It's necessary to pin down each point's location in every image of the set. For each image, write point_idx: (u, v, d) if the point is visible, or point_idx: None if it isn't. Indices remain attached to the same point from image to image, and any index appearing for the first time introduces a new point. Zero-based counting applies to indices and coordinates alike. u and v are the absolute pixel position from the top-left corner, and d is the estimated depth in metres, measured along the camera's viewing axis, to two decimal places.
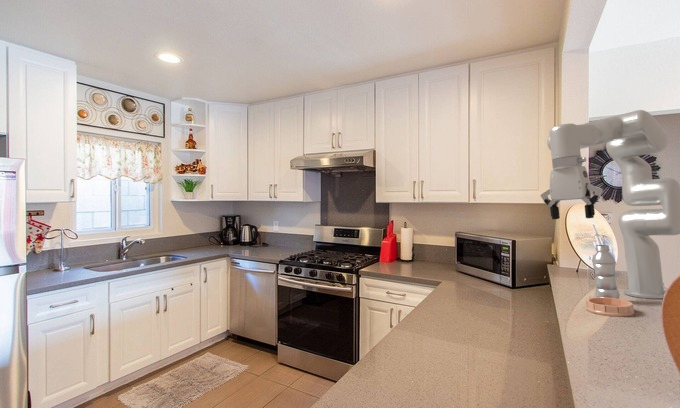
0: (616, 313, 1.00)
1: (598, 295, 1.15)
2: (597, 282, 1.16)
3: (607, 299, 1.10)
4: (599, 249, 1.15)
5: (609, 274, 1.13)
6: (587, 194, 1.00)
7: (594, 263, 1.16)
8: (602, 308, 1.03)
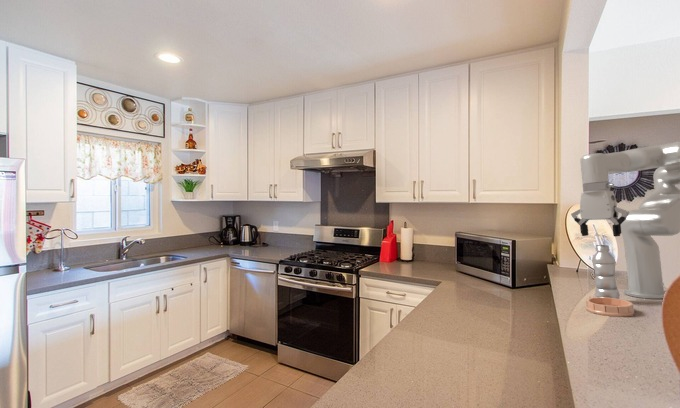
0: (616, 313, 1.00)
1: (598, 295, 1.15)
2: (597, 282, 1.16)
3: (607, 299, 1.10)
4: (599, 249, 1.15)
5: (609, 274, 1.13)
6: None
7: (594, 263, 1.16)
8: (602, 308, 1.03)
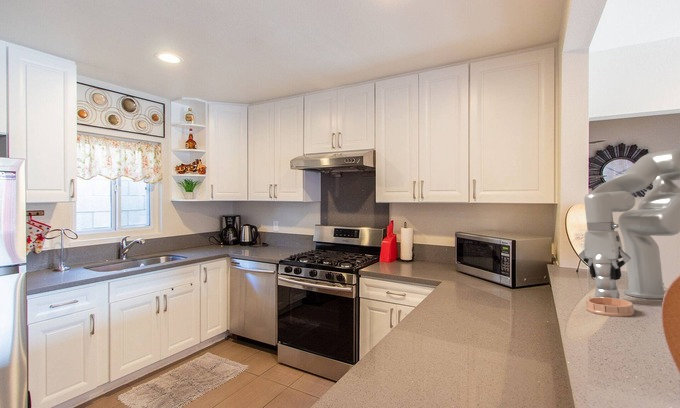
0: (616, 313, 1.00)
1: (598, 295, 1.15)
2: (597, 282, 1.16)
3: (607, 299, 1.10)
4: None
5: (609, 274, 1.13)
6: (619, 255, 1.14)
7: (594, 263, 1.16)
8: (602, 308, 1.03)
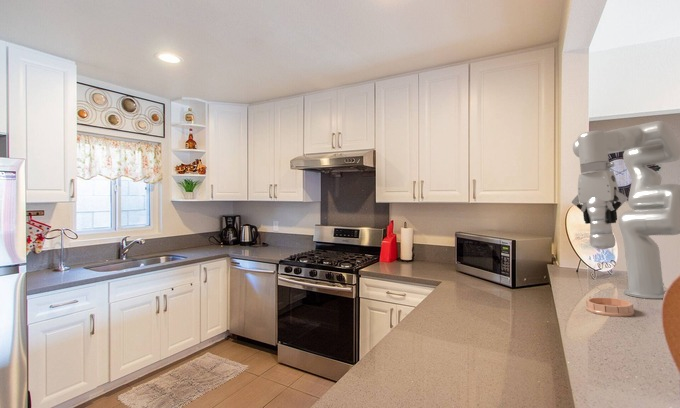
0: (616, 313, 1.00)
1: (592, 241, 1.07)
2: (591, 228, 1.07)
3: (607, 299, 1.10)
4: None
5: (604, 217, 1.05)
6: (615, 197, 1.06)
7: (588, 207, 1.08)
8: (602, 308, 1.03)
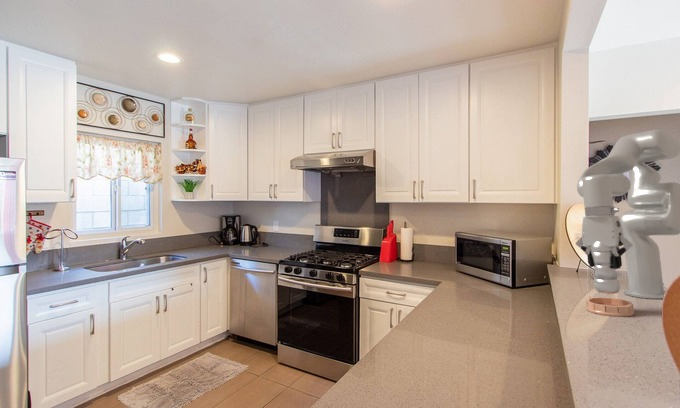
0: (616, 313, 1.00)
1: (597, 286, 1.06)
2: (595, 272, 1.07)
3: (607, 299, 1.10)
4: None
5: (609, 263, 1.04)
6: (619, 242, 1.05)
7: (592, 251, 1.07)
8: (602, 308, 1.03)
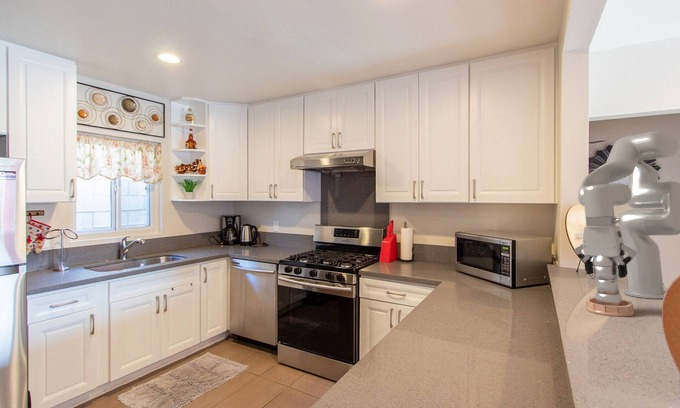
0: (616, 313, 1.00)
1: (599, 300, 1.06)
2: (598, 286, 1.07)
3: None
4: None
5: (611, 277, 1.04)
6: (620, 252, 1.05)
7: (595, 265, 1.07)
8: (602, 308, 1.03)
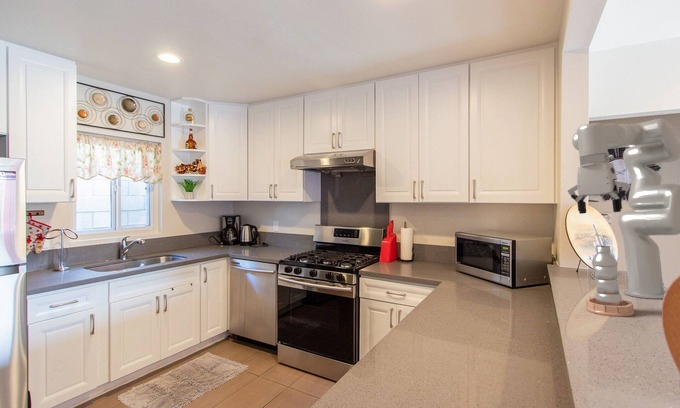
0: (616, 313, 1.00)
1: (599, 300, 1.06)
2: (597, 286, 1.07)
3: None
4: (599, 250, 1.06)
5: (611, 277, 1.04)
6: (614, 189, 1.06)
7: (594, 265, 1.07)
8: (602, 308, 1.03)
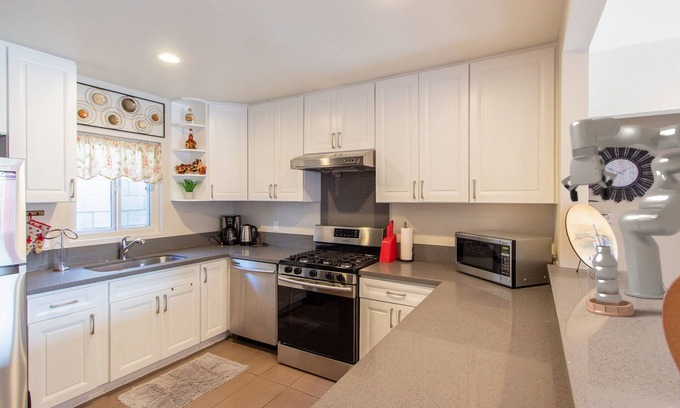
0: (616, 313, 1.00)
1: (599, 300, 1.06)
2: (598, 286, 1.07)
3: None
4: (600, 250, 1.06)
5: (611, 277, 1.04)
6: (603, 179, 1.17)
7: (594, 265, 1.07)
8: (602, 308, 1.03)
